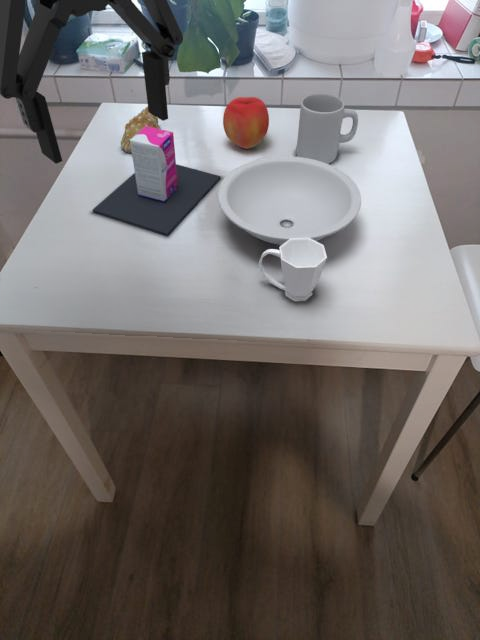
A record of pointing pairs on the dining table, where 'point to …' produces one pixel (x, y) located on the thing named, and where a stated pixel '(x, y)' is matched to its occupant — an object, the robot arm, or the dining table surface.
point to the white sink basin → (289, 198)
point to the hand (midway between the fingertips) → (108, 135)
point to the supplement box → (154, 163)
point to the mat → (157, 214)
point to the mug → (323, 127)
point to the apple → (246, 121)
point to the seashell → (138, 127)
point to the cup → (298, 266)
